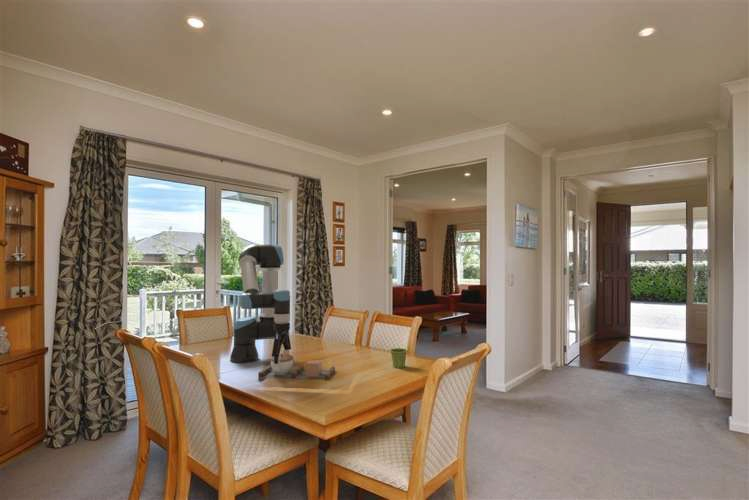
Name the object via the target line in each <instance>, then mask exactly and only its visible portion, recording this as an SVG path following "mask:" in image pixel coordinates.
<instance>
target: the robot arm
mask: <svg viewBox="0 0 749 500" xmlns="http://www.w3.org/2000/svg"><path fill="white" fill-rule="evenodd" d="M237 262H238V266H239V268H240V272H241V278H242V279H241V281H242V290H243V293H241V294H240V297H239V298H240V299H239V301H240V305H239V307H240V308H241V309H242V310H255V309H256V310H257V309H261V311H262V312H261V314H260V315H259V317H258V318H259V319H258V318H256V316H245V317H240V318H238V319H236V320H235V321H234V322H233V323H234V324H233V348H232V351H231V354H230V359H229V360H230V362H232V363H241V364H242V363H250V362H254V361H258V360H259V352H258V349H257V346H256V341H259V340H273V344H272V351H271V357H274V370H275V371H279V370H280V356H279V355H281V353H280V352H281V350H282V346H283V355H290V350H292V345H291V338H290V331H291V330H290V329H291V323H290V322H291V292H290V290H289V289H279V286H278V285H279V282H278V279H279V270H280V269H281V266H282V265H284V252H283V248H282V247H281V245H278V244H250V245H248V246H246V247H245V248H244V249H243V250H242V251H241V252H240V253H239V256H238V261H237ZM257 266H259V269H260V270H261V271H262V288H261V289H262V292H260V288H259V280H258V275H257Z"/></svg>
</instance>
